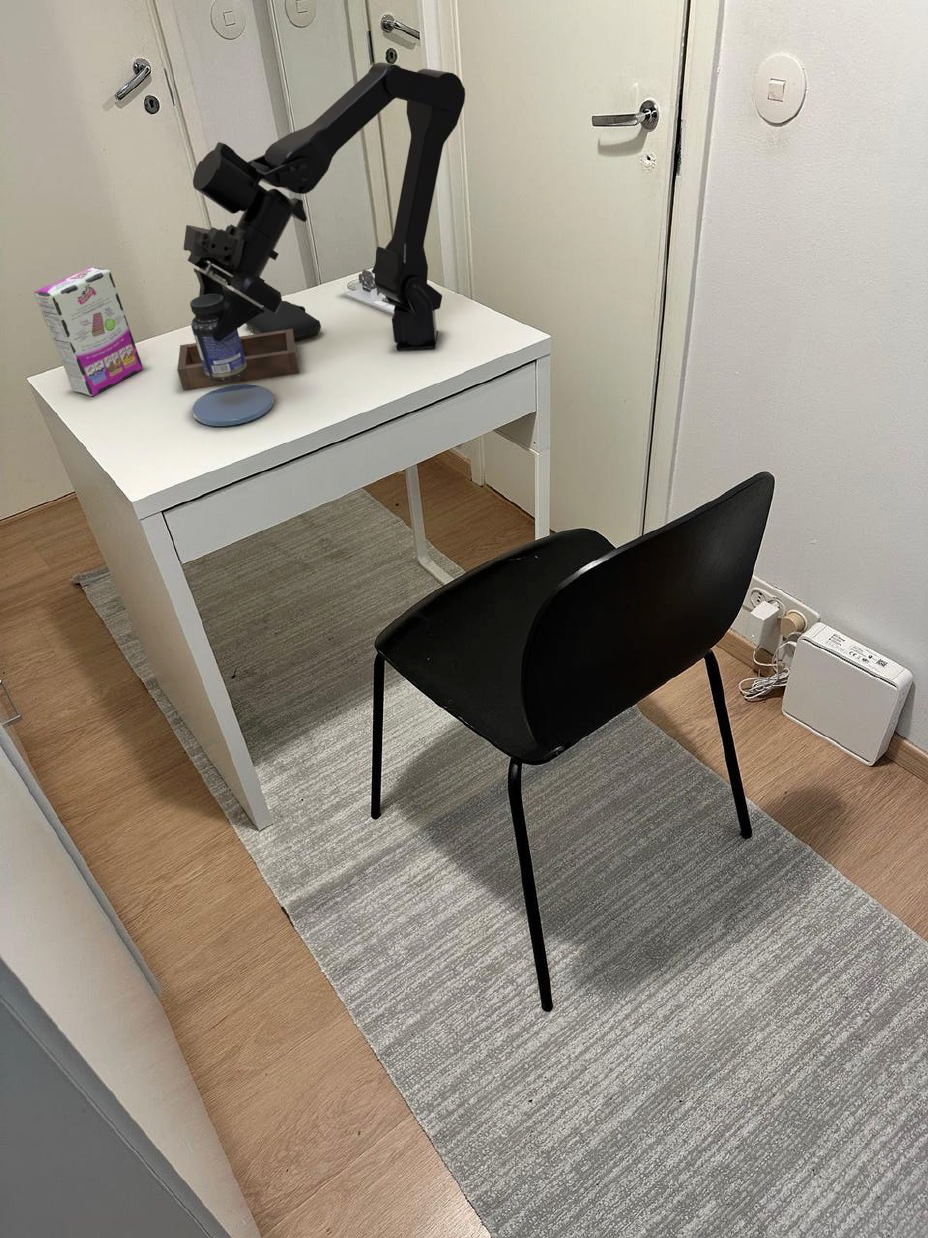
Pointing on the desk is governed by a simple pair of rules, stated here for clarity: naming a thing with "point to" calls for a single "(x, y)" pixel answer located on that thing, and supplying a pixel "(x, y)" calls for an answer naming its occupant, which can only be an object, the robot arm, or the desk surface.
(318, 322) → the carrying case
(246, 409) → the plate
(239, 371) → the pill bottle
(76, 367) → the candy bar box
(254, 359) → the rack
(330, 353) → the desk surface
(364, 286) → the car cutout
